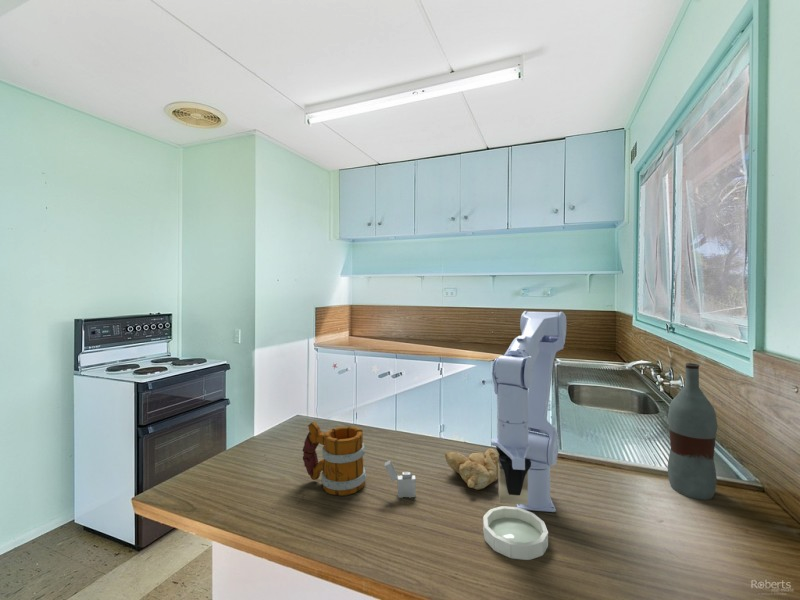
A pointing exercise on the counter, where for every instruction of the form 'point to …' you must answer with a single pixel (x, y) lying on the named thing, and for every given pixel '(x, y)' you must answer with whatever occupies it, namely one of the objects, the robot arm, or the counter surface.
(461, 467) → the ginger root
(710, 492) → the bottle
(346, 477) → the mug
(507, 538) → the dish
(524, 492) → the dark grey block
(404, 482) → the lighter
